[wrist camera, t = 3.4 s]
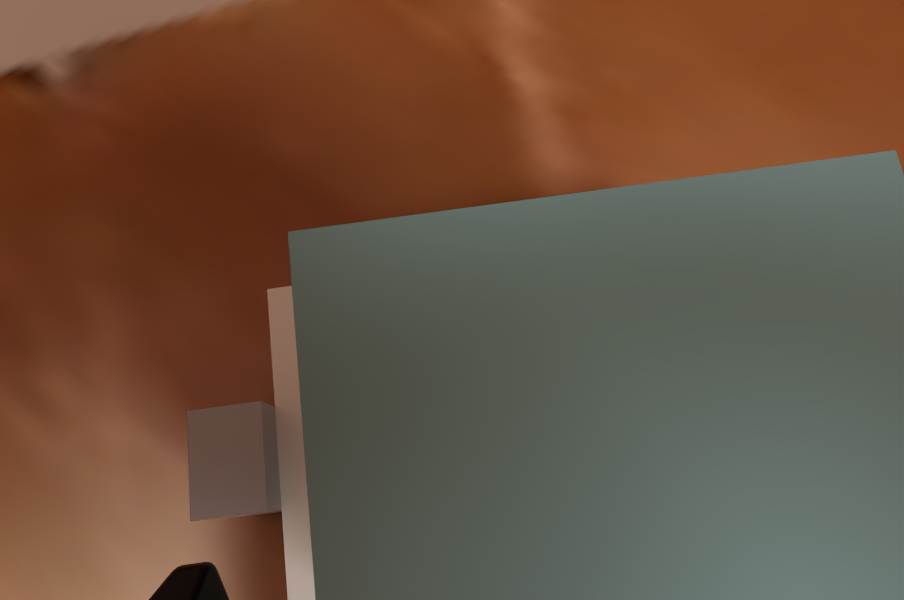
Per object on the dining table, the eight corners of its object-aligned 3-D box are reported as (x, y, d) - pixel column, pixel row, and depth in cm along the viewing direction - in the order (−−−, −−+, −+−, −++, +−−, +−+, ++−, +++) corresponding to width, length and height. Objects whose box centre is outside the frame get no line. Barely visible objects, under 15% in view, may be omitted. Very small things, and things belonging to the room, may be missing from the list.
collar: (795, 707, 15) (903, 777, 12) (270, 781, 15) (202, 878, 11) (693, 269, 18) (753, 207, 14) (244, 329, 18) (182, 284, 14)
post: (656, 599, 16) (1130, 862, 5) (436, 630, 16) (344, 976, 4) (613, 380, 17) (895, 150, 6) (410, 408, 17) (287, 232, 6)
